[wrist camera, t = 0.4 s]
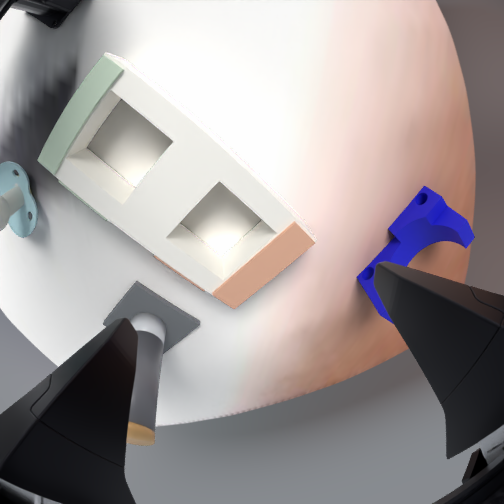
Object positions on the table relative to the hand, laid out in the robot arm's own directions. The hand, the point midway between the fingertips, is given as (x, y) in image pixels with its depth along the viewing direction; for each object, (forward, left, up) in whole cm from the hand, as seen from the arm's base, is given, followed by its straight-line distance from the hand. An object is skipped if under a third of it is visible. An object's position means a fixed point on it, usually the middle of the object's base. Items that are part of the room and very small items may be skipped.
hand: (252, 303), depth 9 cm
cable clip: (+16, +8, -14) cm, 23 cm away
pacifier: (-15, -14, -14) cm, 25 cm away
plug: (+4, -17, -13) cm, 22 cm away
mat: (+4, -17, -14) cm, 22 cm away
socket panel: (-3, -3, -14) cm, 14 cm away
